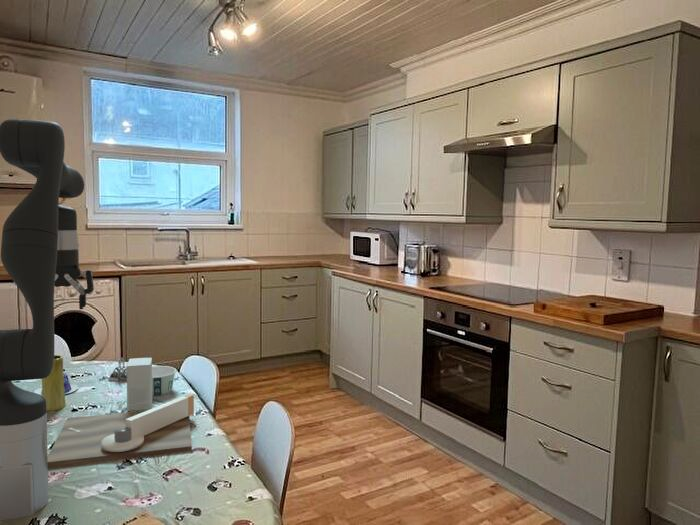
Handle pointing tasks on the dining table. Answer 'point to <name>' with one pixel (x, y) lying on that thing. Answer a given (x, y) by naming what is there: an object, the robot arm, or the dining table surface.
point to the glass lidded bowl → (119, 372)
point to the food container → (162, 379)
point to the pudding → (66, 386)
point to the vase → (54, 386)
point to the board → (88, 432)
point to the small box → (139, 384)
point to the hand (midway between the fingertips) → (63, 309)
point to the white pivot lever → (148, 424)
